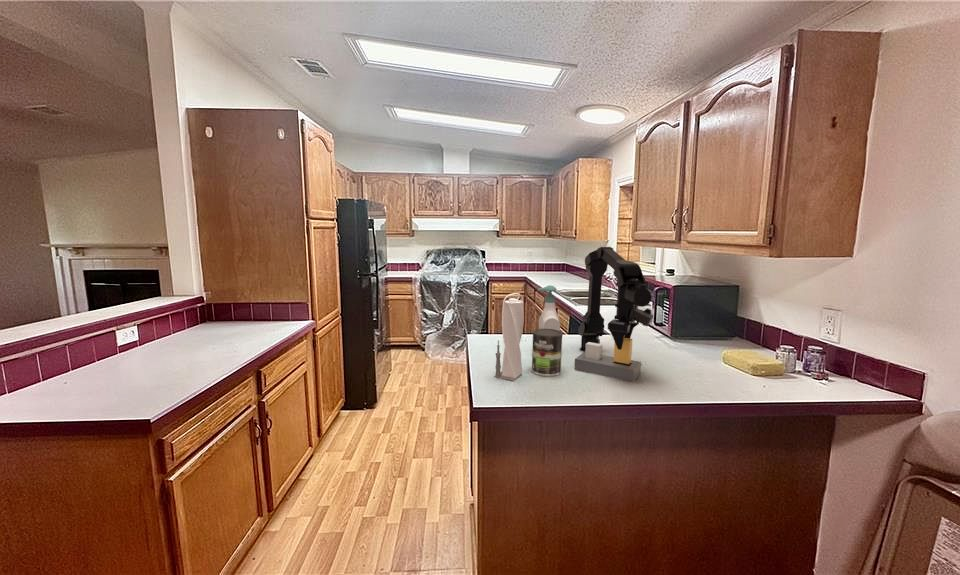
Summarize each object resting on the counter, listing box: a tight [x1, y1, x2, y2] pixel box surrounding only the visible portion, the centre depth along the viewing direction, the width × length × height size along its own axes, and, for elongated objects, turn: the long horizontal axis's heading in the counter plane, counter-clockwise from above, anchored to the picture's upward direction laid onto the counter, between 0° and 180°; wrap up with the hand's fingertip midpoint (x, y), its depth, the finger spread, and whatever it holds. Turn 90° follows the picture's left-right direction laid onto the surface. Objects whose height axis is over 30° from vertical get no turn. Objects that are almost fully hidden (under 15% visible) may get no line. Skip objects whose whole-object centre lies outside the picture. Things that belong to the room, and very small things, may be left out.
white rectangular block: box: [584, 342, 603, 361], centre depth 140 cm, size 5×3×8 cm, turn 55°
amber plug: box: [613, 338, 633, 364], centre depth 134 cm, size 5×3×8 cm, turn 56°
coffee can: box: [531, 328, 564, 377], centre depth 137 cm, size 10×10×14 cm
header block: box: [574, 351, 642, 383], centre depth 137 cm, size 20×10×4 cm, turn 55°
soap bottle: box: [537, 284, 561, 331], centre depth 156 cm, size 11×8×27 cm
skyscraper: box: [493, 292, 525, 382], centre depth 131 cm, size 8×8×28 cm
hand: (623, 346), depth 133 cm, fingers open, 9 cm apart
